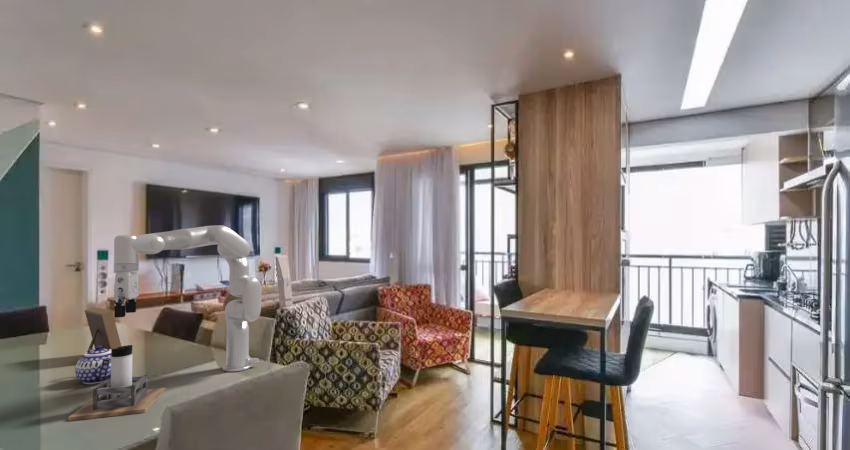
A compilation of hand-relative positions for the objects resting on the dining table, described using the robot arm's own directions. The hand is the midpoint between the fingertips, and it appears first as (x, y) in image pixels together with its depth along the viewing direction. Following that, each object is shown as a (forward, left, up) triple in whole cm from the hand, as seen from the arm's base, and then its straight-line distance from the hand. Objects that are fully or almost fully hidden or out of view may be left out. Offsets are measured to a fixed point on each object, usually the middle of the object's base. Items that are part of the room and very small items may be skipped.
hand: (125, 314), depth 151 cm
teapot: (+21, -33, -32) cm, 51 cm away
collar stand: (0, +1, -32) cm, 32 cm away
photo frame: (+37, -72, -32) cm, 87 cm away
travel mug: (0, +1, -31) cm, 31 cm away
